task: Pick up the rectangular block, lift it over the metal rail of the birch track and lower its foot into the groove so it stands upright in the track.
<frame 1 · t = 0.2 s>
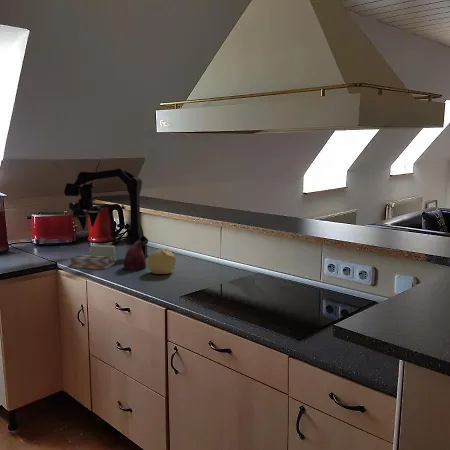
hand: (88, 227, 242), 14 cm above the worktop, tool pointing down, fingers open, 9 cm apart
vegetable: (135, 268, 220), on the worktop
yellow rounded lump: (162, 273, 211), on the worktop
rectangular block: (103, 259, 235), on the worktop
track: (92, 265, 223), on the worktop
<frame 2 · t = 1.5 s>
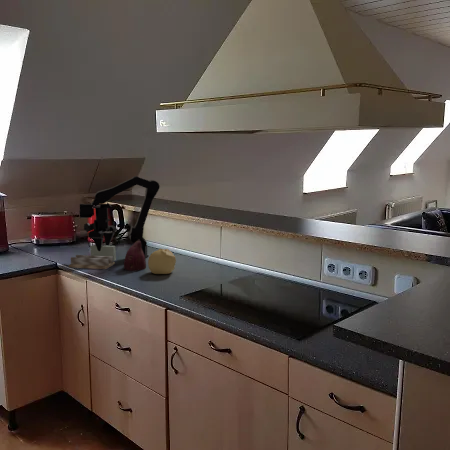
hand: (103, 249, 234), 5 cm above the worktop, tool pointing down, fingers open, 9 cm apart
nothing on the worktop moved.
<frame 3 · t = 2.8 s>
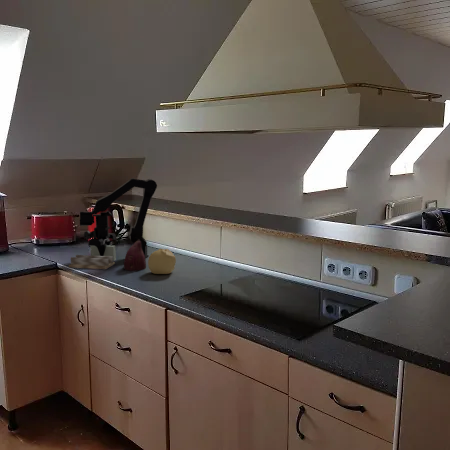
hand: (103, 256, 235), 2 cm above the worktop, tool pointing down, fingers closed on rectangular block, 2 cm apart
rectangular block: (103, 259, 235), on the worktop, touching gripper
everything else where it was.
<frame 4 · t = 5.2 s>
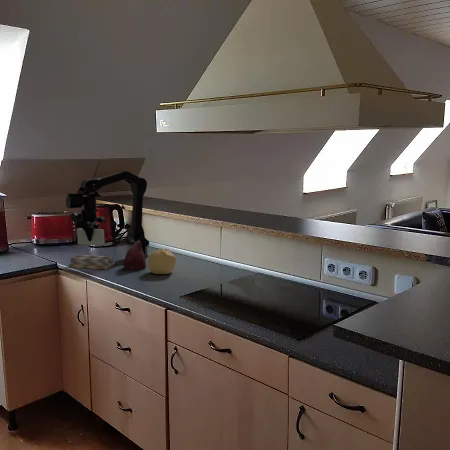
hand: (91, 240, 222), 12 cm above the worktop, tool pointing down, fingers closed on rectangular block, 2 cm apart
rectangular block: (91, 244, 222), point 10 cm above the worktop, touching gripper
everything else where it was.
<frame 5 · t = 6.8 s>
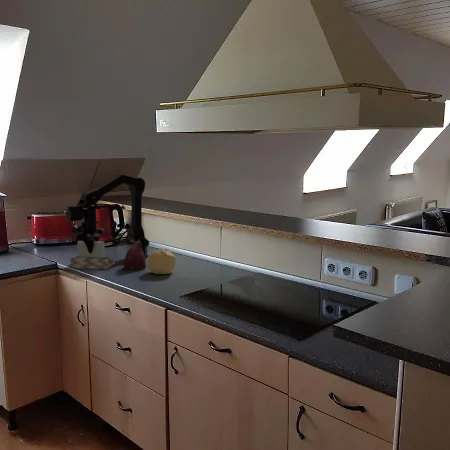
hand: (91, 252, 223), 6 cm above the worktop, tool pointing down, fingers closed on rectangular block, 2 cm apart
rectangular block: (91, 256, 223), point 4 cm above the worktop, touching gripper
everything else where it was.
when the fingers open (4 cm above the worktop, at t = 7.8 s): rectangular block drops 2 cm, resting on track.
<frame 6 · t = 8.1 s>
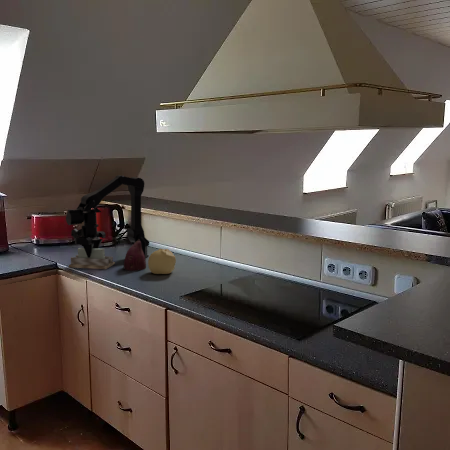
hand: (91, 256, 223), 4 cm above the worktop, tool pointing down, fingers open, 5 cm apart
rectangular block: (91, 263, 223), point 1 cm above the worktop, touching track
everything else where it was.
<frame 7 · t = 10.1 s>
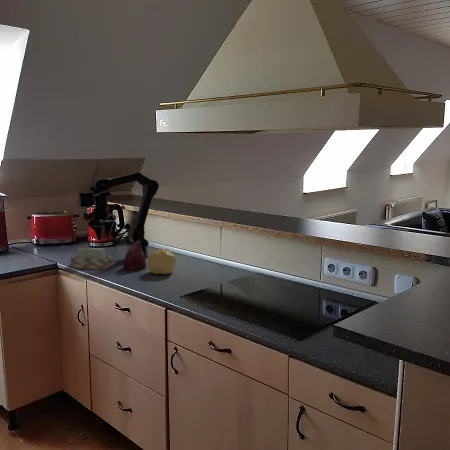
hand: (103, 238, 229), 12 cm above the worktop, tool pointing down, fingers open, 9 cm apart
nothing on the worktop moved.
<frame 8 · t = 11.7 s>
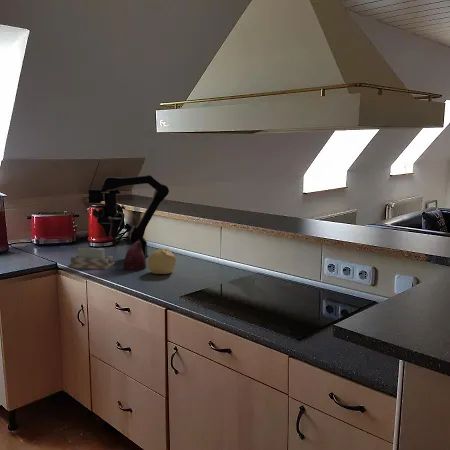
hand: (111, 235, 234), 12 cm above the worktop, tool pointing down, fingers open, 9 cm apart
nothing on the worktop moved.
at the end: rectangular block inside the target area on the track (0.2 cm from its centre), point 1.0 cm above the track's base; rectangular block tilted 0°; the gripper is holding nothing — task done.
